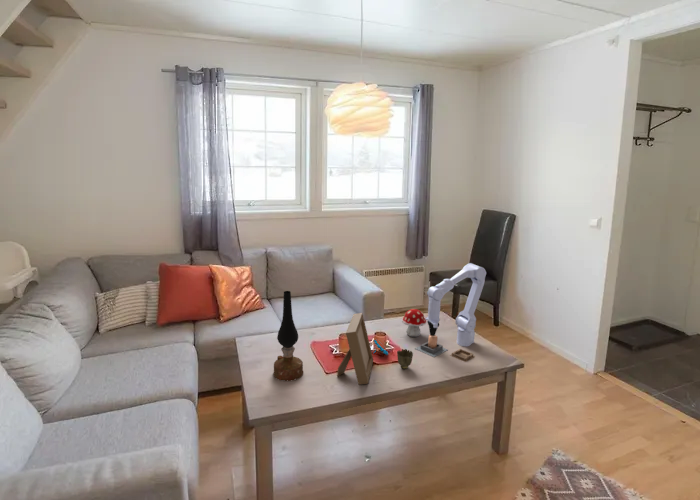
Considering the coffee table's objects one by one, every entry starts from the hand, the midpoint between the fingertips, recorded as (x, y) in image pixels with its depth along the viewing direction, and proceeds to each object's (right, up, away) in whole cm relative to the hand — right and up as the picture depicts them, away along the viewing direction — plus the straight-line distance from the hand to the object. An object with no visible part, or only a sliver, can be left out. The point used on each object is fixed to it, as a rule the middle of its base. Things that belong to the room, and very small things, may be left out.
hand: (432, 335), depth 215 cm
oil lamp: (-70, -13, -22) cm, 75 cm away
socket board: (0, -9, +2) cm, 9 cm away
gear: (-27, -9, -1) cm, 28 cm away
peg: (0, -7, +2) cm, 8 cm away
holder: (+14, -10, -4) cm, 18 cm away
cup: (-16, -13, -15) cm, 26 cm away
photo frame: (-40, -13, -19) cm, 46 cm away
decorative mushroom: (-7, -4, +22) cm, 23 cm away
